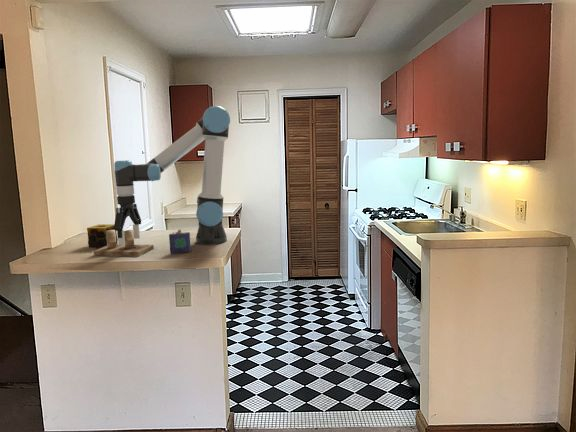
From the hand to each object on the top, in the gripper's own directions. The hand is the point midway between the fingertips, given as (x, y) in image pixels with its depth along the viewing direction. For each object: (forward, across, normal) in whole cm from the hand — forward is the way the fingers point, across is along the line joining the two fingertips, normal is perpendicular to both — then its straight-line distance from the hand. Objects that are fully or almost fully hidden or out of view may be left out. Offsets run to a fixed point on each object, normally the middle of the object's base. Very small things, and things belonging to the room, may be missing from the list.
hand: (129, 241), depth 213 cm
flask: (+5, -1, +24) cm, 25 cm away
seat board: (+5, 0, -3) cm, 6 cm away
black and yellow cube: (+5, -12, -21) cm, 25 cm away
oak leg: (+5, 0, 0) cm, 5 cm away
